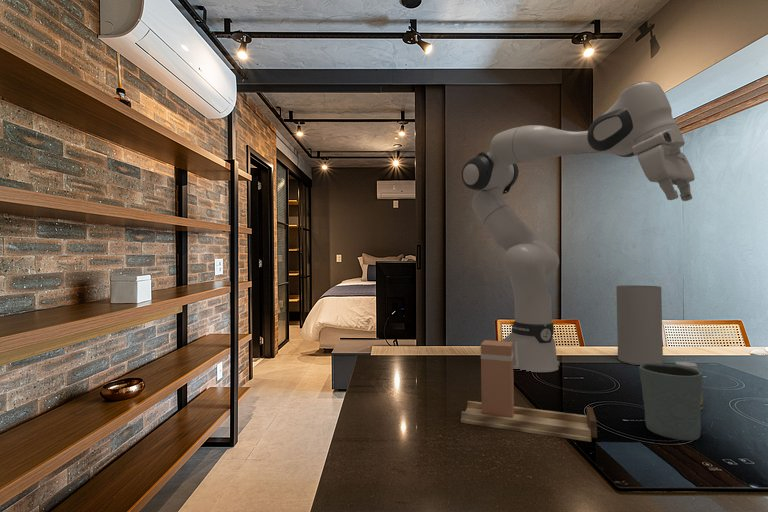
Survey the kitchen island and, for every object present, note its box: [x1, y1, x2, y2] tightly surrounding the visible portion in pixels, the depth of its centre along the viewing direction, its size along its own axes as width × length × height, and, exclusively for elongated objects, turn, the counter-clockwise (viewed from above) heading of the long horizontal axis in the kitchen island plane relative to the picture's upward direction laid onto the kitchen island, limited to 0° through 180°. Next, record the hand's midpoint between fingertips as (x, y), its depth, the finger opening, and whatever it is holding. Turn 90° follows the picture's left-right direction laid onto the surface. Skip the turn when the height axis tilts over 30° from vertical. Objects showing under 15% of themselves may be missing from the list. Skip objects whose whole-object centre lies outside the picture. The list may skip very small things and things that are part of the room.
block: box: [480, 339, 515, 418], centre depth 83 cm, size 6×5×15 cm
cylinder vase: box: [615, 284, 664, 366], centre depth 130 cm, size 12×12×25 cm
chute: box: [460, 400, 598, 443], centre depth 81 cm, size 25×9×4 cm, turn 67°
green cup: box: [638, 363, 703, 441], centre depth 77 cm, size 10×10×12 cm
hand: (680, 199), depth 90 cm, fingers open, 8 cm apart
